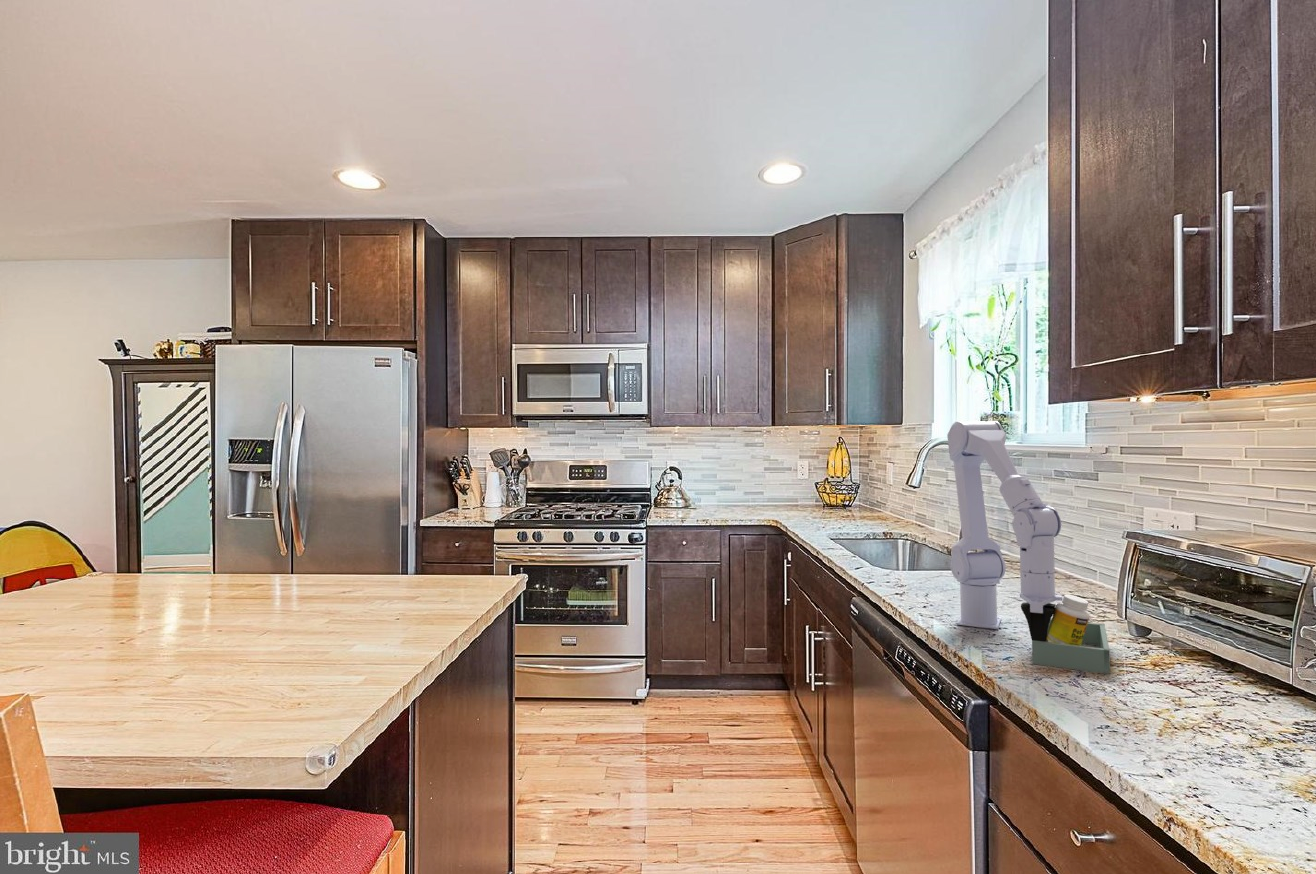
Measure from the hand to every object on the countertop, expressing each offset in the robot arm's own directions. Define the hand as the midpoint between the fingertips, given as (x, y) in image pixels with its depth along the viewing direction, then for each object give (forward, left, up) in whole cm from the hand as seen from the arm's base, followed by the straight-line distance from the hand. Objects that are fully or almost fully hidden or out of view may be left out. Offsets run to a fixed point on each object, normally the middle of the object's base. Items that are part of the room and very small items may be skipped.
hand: (1038, 642), depth 130 cm
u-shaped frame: (0, +5, -1) cm, 5 cm away
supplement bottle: (0, +4, -1) cm, 4 cm away
